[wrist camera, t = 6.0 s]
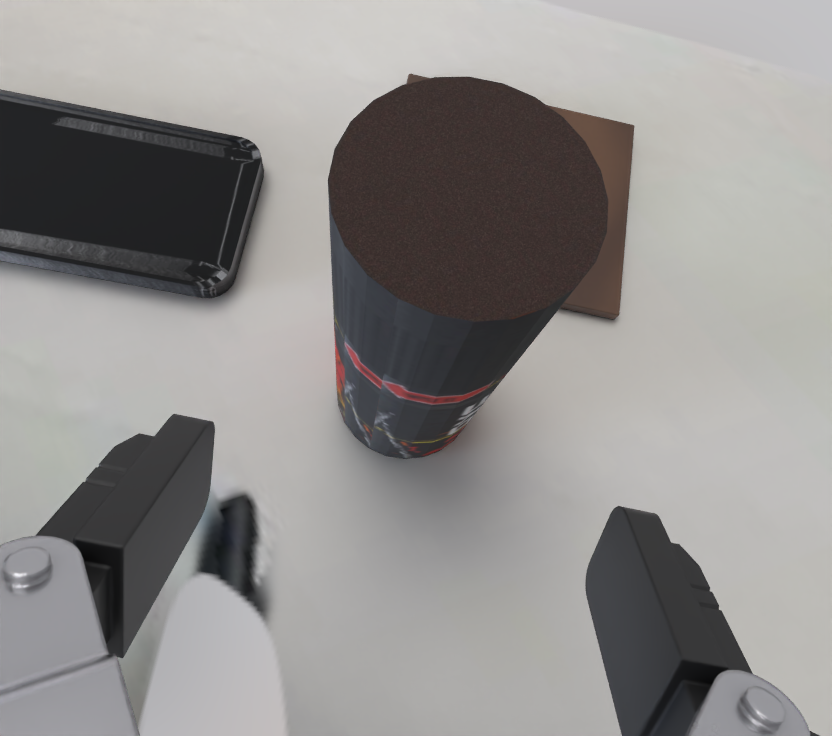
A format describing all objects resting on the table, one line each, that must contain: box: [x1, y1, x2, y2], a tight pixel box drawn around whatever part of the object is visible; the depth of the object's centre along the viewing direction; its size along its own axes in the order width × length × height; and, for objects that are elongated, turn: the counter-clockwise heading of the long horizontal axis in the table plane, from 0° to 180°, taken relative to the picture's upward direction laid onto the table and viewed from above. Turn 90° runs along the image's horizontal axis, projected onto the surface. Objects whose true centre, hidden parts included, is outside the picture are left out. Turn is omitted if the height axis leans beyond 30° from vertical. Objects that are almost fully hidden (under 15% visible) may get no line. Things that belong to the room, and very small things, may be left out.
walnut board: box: [406, 74, 634, 319], centre depth 31 cm, size 12×11×1 cm
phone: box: [0, 90, 264, 298], centre depth 28 cm, size 8×1×15 cm
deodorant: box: [328, 77, 608, 459], centre depth 20 cm, size 6×6×15 cm
